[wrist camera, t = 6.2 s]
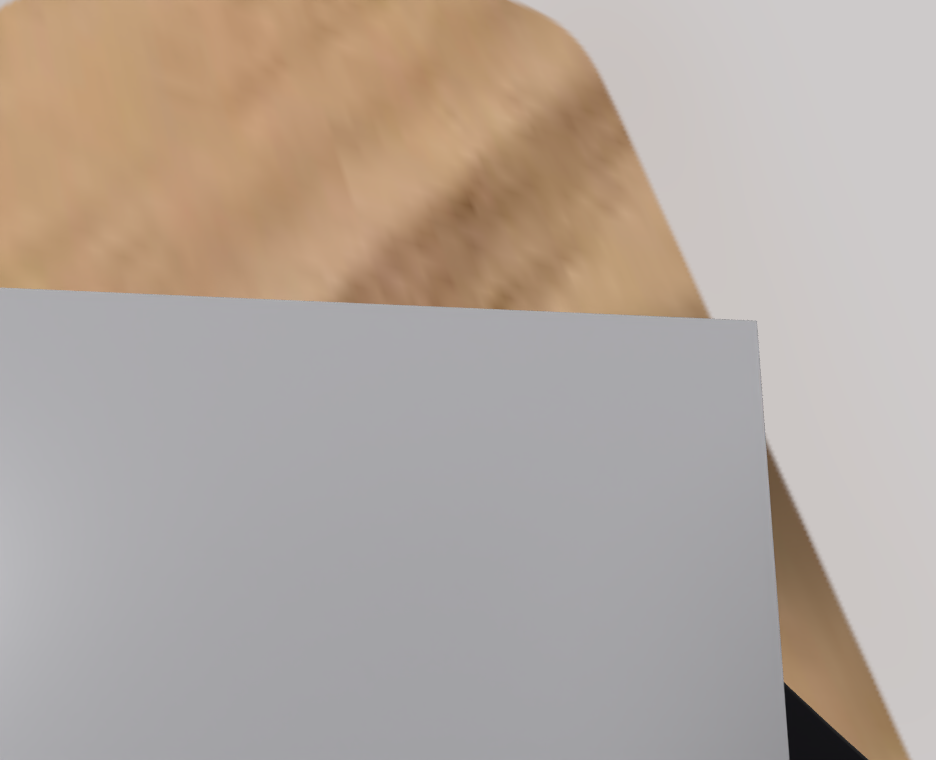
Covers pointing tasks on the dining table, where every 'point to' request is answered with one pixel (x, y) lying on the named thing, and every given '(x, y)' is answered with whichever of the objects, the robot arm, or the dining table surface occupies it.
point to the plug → (381, 533)
